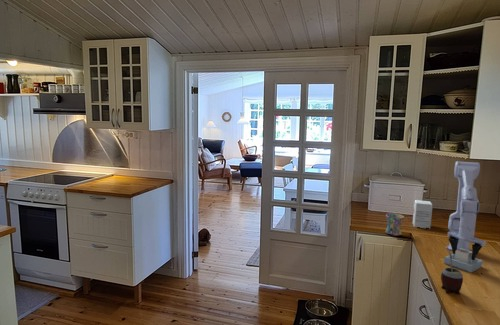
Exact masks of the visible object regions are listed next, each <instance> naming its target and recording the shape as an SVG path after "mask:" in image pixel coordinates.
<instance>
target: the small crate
mask: <svg viewBox="0 0 500 325" xmlns="http://www.w3.org/2000/svg"><path fill="white" fill-rule="evenodd" d="M471 257H472V250H469V251H468V250H465V249H462V248H460V249H458V250H456V252H455V260H457V261H460V262H463V263H466V264H470V265H471V264H472V260H471Z"/></svg>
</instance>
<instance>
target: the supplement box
mask: <svg viewBox="0 0 500 325" xmlns="http://www.w3.org/2000/svg"><path fill="white" fill-rule="evenodd" d="M432 215H433V203H432V202H431V201H429V200H420V199H415V200H414V204H413V212H412V225H413V227H414V228H417V227H420V228H419V229H426V228H429V229H428V230H431V226H432Z"/></svg>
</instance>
